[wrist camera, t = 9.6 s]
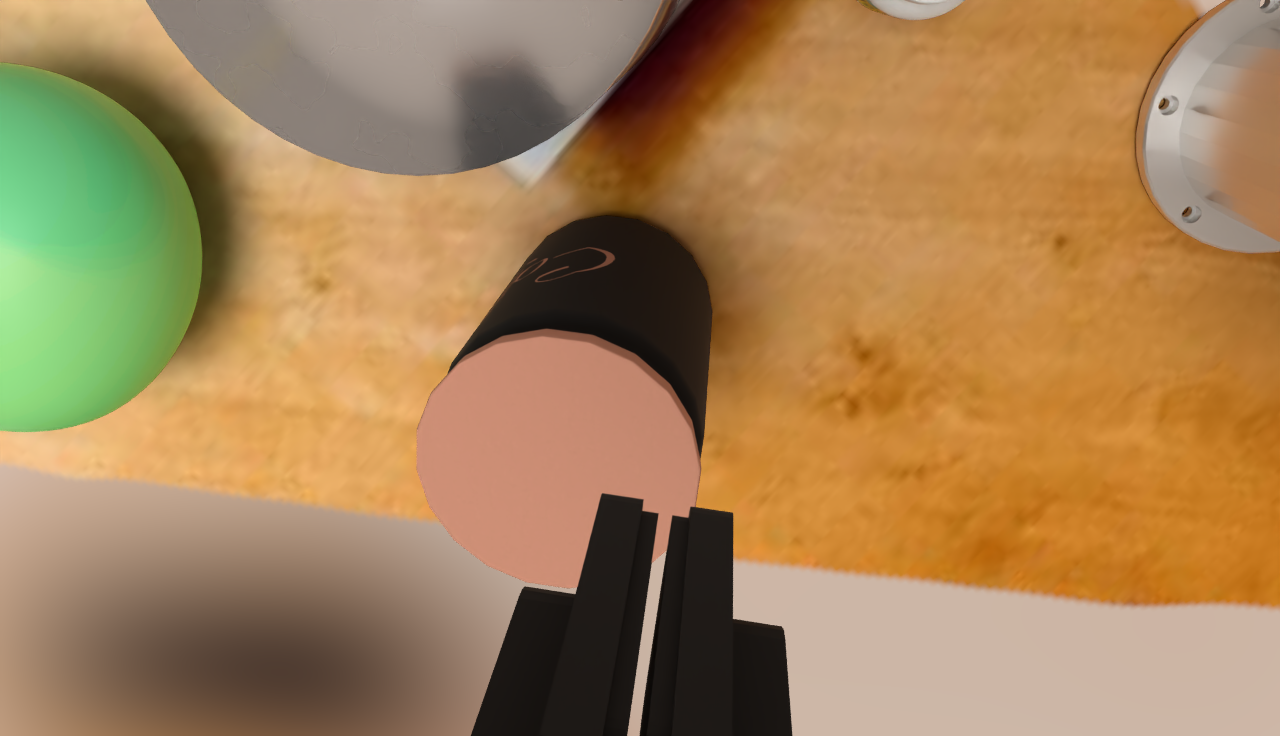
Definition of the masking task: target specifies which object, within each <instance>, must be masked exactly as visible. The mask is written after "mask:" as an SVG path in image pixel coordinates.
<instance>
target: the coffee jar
mask: <svg viewBox="0 0 1280 736" xmlns="http://www.w3.org/2000/svg"><path fill="white" fill-rule="evenodd" d="M711 326H712V307H711V302H710V296H709V291H708V286H707V282H706V280H705V278H704V276H703V275H702V273H701V271H700V269H699V268H698V266H697V264H696V262H695V261H694V259H693V257H692V255H691V254H690V253H689V252H688V251H686V250H685V249H684V248H683V247H682V246H681V245H680V244H679V243H678V242H677V241H676V240H674V239H673V238H672V237H671V236H670V235H669V234H668V233H666V232H664V231H662V230H660V229H657V228H655V227H653V226H651V225H649V224H647V223H644V222H642V221H640V220H638V219H630V218H622V217H614V216H607V215H605V216H600V217H594V218H589V219H584V220H578V221H574V222H572V223H570V224H568V225H567V226H565V227H563V228H561V229H560V230H558V231H556V232H554V233H552V234H551V235H549V236H547V237H546V238H545V239H544V241H543V242H542V243H541V244H540V245H539V246H538V247H537V248H536V249H535V251H534V252H533V253H532V254H531V255H530V256H529V257H528V258H527V260H526V261H525V263H524V264H523V265H522V267H521V268H520V269H519V271H518V272H517V274H516V275H515V276H514V278H513V279H512V281H511V282H510V283H509V285H508V286H507V287H506V289H505V290H504V292H503V293H502V294H501V296H500V297H499V299H498V300H497V301H496V303H495V304H494V305H493V307H492V308H491V310H490V311H489V312H488V314H487V315H486V316H485V318H484V319H483V321H482V322H481V323H480V325H479V326H478V328H477V329H476V330H475V332H474V333H473V334H472V336H471V337H470V339H469V340H468V341H467V343H466V344H465V346H464V347H463V348H462V350H461V351H460V352H459V354H458V355H457V357H456V358H455V359H454V361H453V362H452V364H451V366H450V369H449V371H448V374H447V375H446V377H445V378H444V379H443V380H442V381H441V382H440V383H439V384H438V385H437V387H436V388H435V389H434V390H433V391H432V392H431V394H430V397H429V399H428V402H427V404H426V407H425V410H424V412H423V415H422V417H421V420H420V423H419V425H418V428H417V472H418V475H419V478H420V481H421V483H422V486H423V489H424V492H425V495H426V498H427V501H428V504H429V507H430V508H431V510H432V511H433V512H434V514H435V515H436V516H437V518H438V519H439V520H440V522H441V523H442V524H443V526H444V527H445V529H446V530H447V531H448V533H449V534H450V535H451V537H452V538H453V539H454V540H455V541H456V542H457V543H458V544H460V545H461V546H462V547H464V548H465V549H466V550H468V551H469V552H470V553H471V554H473V555H474V556H475V557H477V558H478V559H479V560H480V561H482V562H483V563H484V564H486V565H487V566H489V567H492V568H494V569H496V570H499V571H501V572H503V573H506V574H508V575H511V576H513V577H515V578H518V579H520V580H522V581H525V582H528V583H535V584H542V585H549V586H555V587H562V588H575V587H578V583H579V579H580V575H581V571H582V567H583V563H584V560H585V556H586V552H587V548H588V544H589V540H590V536H591V532H592V528H593V525H594V521H595V517H596V513H597V509H598V505H599V501H600V497H601V494H602V493H605V494H612V495H618V496H625V497H632V498H638V499H644V502H643V510H642V511H648V512H654V513H659V515H658V522H657V529H656V536H655V543H654V550H653V557H652V562H654V561H655V560H656V559H657V558H658V557H659V556H661V555H662V554H663V553H664V552H665V551H666V550H667V546H668V539H669V533H670V526H671V520H672V515H674V516H681V517H687V518H688V516H689V511H690V507H696V500H697V494H698V487H699V481H700V474H701V461H700V458H701V452H702V445H703V439H704V429H705V414H706V399H707V385H708V370H709V355H710V341H711Z"/></svg>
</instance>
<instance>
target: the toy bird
mask: <svg viewBox="0 0 1280 736" xmlns="http://www.w3.org/2000/svg"><path fill="white" fill-rule="evenodd" d="M201 275H202V242H201V233H200V227H199V221H198V217H197V213H196V209H195V205H194V202H193V199H192V196H191V193H190V191H189V188H188V186H187V184H186V181H185V179H184V177H183V175H182V173H181V172H180V170H179V168H178V166H177V165H176V163H175V161H174V160H173V158H172V157H171V155H170V154H169V153H168V151H167V150H166V149H165V147H164V146H163V145H162V143H161V142H160V141H159V140H158V139H157V138H156V136H155V135H154V134H153V133H152V132H151V131H150V130H149V129H148V128H147V127H146V126H145V125H144V124H143V123H142V122H141V121H140V120H139V119H137V118H136V117H135V116H134V115H133V114H132V113H130V112H129V111H128V110H126V109H125V108H124V107H122V106H121V105H120V104H118V103H117V102H115V101H114V100H112V99H111V98H109V97H108V96H106V95H104V94H102V93H101V92H99V91H97V90H95V89H93V88H91V87H89V86H87V85H85V84H83V83H81V82H78V81H76V80H74V79H71V78H69V77H66V76H63V75H60V74H57V73H54V72H51V71H47V70H43V69H39V68H35V67H30V66H25V65H19V64H12V63H2V62H0V431H12V432H39V431H50V430H57V429H63V428H68V427H73V426H77V425H80V424H84V423H87V422H90V421H93V420H95V419H98V418H100V417H103V416H105V415H107V414H109V413H111V412H113V411H114V410H116V409H118V408H120V407H121V406H123V405H124V404H126V403H127V402H129V401H130V400H132V399H133V398H134V397H135V396H137V395H138V394H139V393H140V392H142V391H143V390H144V389H145V388H146V387H147V386H148V385H149V384H150V383H151V382H152V381H153V380H154V379H155V378H156V377H157V376H158V375H159V373H160V372H161V371H162V370H163V369H164V367H165V366H166V365H167V363H168V362H169V361H170V359H171V358H172V356H173V355H174V353H175V351H176V350H177V348H178V346H179V345H180V343H181V341H182V339H183V337H184V335H185V333H186V331H187V329H188V326H189V324H190V321H191V319H192V316H193V313H194V310H195V307H196V303H197V299H198V295H199V290H200V284H201Z"/></svg>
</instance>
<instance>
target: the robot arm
mask: <svg viewBox="0 0 1280 736" xmlns="http://www.w3.org/2000/svg"><path fill="white" fill-rule="evenodd" d="M1259 6H1260V0H1225V1H1224V2H1222V3H1221V4H1219V5H1218V6H1216V7H1215V8H1213V9H1211V10H1210V11H1208V12H1207V13H1206V14H1205V15H1204V16H1203V17H1202V18H1201V19H1200V20H1198V21H1197V22H1196V23H1195V24H1194V25H1193V26H1192V27H1191V28H1189V29H1188V30H1187V31H1186V32H1185V33H1184V34H1183V36H1182V37H1181V38H1180V39H1179V40H1178V42H1177V43H1176V44H1175V45H1174V47H1173V48H1172V49H1171V50H1170V51H1169V53H1168V54H1167V55H1166V56H1165V58H1164V60H1163V61H1162V63H1161V65H1160V67H1159V68H1158V70H1157V72H1156V73H1155V75H1154V77H1153V78H1152V80H1151V82H1150V85H1149V88H1148V90H1147V93H1146V95H1145V98H1144V101H1143V103H1142V106H1141V110H1140V115H1139V120H1138V126H1137V131H1136V158H1137V163H1138V167H1139V172H1140V176H1141V180H1142V183H1143V185H1144V187H1145V189H1146V191H1147V193H1148V195H1149V197H1150V199H1151V201H1152V203H1153V204H1154V205H1155V206H1156V207H1157V209H1158V210H1159V211H1160V212H1161V214H1162V215H1163V216H1164V217H1165V219H1167V220H1168V221H1169V222H1171V223H1172V224H1173V225H1174V226H1176V227H1177V228H1178V229H1180V230H1181V231H1182V232H1184V233H1185V234H1187V235H1189V236H1191V237H1193V238H1195V239H1197V240H1198V241H1200V242H1202V243H1205V244H1208V245H1211V246H1214V247H1216V248H1219V249H1222V250H1227V251H1234V252H1242V253H1273V252H1280V0H1265V3H1264V4H1263V6H1261V7H1259ZM1163 98H1164V99H1165V105H1164V106H1163V107H1162V108H1158V106H1159V103H1160V101H1161V100H1162V99H1163ZM1187 207H1188V211H1187V212H1186V213H1185V214H1183V215H1182V213H1183V211H1184V210H1185V209H1186V208H1187ZM643 502H644V499H638V498H632V497H625V496H618V495H612V494H605V493H602V494H601V497H600V501H599V505H598V509H597V513H596V517H595V521H594V525H593V528H592V532H591V536H590V540H589V544H588V548H587V552H586V556H585V560H584V563H583V567H582V571H581V575H580V579H579V583H578V587H577V591H576V594H570V593H563V592H557V591H550V590H544V589H538V588H531V587H524V588H523V589H522V591H521V593H520V596H519V598H518V601H517V604H516V607H515V610H514V613H513V615H512V619H511V621H510V624H509V627H508V630H507V633H506V636H505V639H504V641H503V644H502V648H501V650H500V653H499V656H498V659H497V662H496V665H495V667H494V670H493V673H492V676H491V679H490V682H489V685H488V688H487V691H486V693H485V696H484V699H483V702H482V705H481V708H480V711H479V714H478V717H477V719H476V722H475V725H474V728H473V731H472V734H471V736H627V732H628V726H629V718H630V711H631V704H632V697H633V690H634V683H635V676H636V669H637V662H638V655H639V648H640V641H641V634H642V627H643V620H644V612H645V606H646V599H647V592H648V585H649V578H650V571H651V564H652V557H653V550H654V543H655V536H656V529H657V522H658V515H659V513H654V512H648V511H642V510H643ZM640 736H792V725H791V712H790V698H789V684H788V671H787V658H786V643H785V635H784V630H783V628H782V627H781V626H775V625H768V624H762V623H755V622H749V621H743V620H737V619H733V513H731V512H724V511H718V510H711V509H704V508H698V507H690V511H689V516H688V518H687V517H681V516H674V515H672V520H671V526H670V533H669V539H668V546H667V552H666V559H665V565H664V572H663V578H662V585H661V591H660V598H659V605H658V611H657V617H656V624H655V630H654V637H653V644H652V651H651V657H650V664H649V670H648V676H647V683H646V690H645V697H644V705H643V713H642V720H641V729H640Z"/></svg>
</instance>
